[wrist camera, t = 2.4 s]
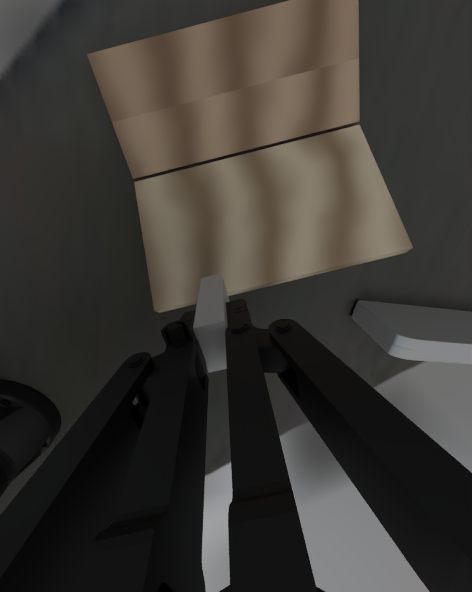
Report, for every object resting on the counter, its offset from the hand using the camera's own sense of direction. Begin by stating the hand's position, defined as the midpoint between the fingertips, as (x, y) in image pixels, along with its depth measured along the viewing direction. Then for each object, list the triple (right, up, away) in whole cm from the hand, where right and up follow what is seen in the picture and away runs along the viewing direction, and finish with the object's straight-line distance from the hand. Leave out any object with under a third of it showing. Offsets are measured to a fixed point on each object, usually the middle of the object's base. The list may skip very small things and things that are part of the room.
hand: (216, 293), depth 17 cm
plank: (+4, +8, +7) cm, 11 cm away
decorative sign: (+34, -4, +21) cm, 40 cm away
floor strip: (+1, +20, +7) cm, 21 cm away
